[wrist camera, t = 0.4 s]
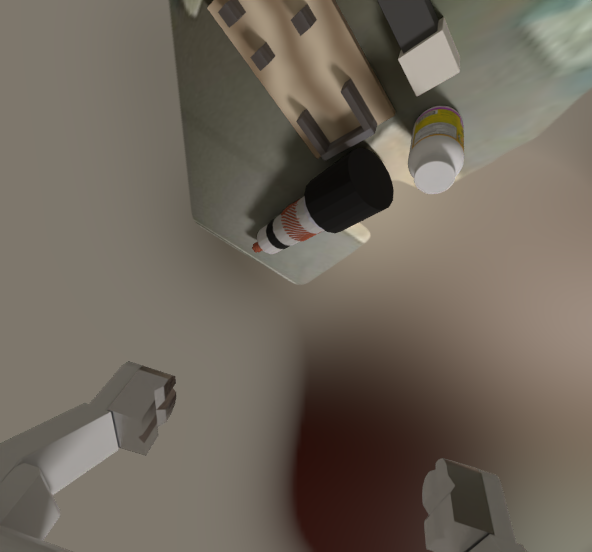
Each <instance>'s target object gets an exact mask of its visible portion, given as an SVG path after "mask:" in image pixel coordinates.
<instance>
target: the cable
mask: <svg viewBox="0 0 592 552" xmlns="http://www.w3.org/2000/svg"><path fill="white" fill-rule="evenodd" d="M392 201H393V185H392V181H391V178H390V175H389V173H388V171H387V169H386V168H385V166H384V164H383V163H382V161H381V160H380V159H379V158H378V157H377V156H376V155H375V154H374V153H372V152H371V151H369V150H367V149H364V148H358V149H354V150H353V151H351V152H350V153H349V154H347V155H346V156H344V157H343V158H342V159H340V160H339V161H338V162H336V163H335V164H333V165H332V166H331V167H329V168H328V169H326V170H325V171H324V172H322V173H321V174H319V175H318V176H317V177H315V178H314V179H313V180H311V181H310V183H309V184H308V185H307V186H306V190H305V194H304V197H302V198H300V199H299V200H297V201H295V202H294V203H292V204H290V205H289V206H287V207H286V208H285V209H284V211H283V212H282V213H281V214H280V215H278V216H277V217H276V218H275V219H274V220H272V221H270V223H269V224H267V225H266V226H264V227H263V228H261V229H260V230H259V232H258V234H257V241H258V242H256V243H254V244H253V247H252V249H253V250H254V252H260V251H261V250H263V251H264V252H266V253H269V254H274V253H277V252H279V251H281V250H282V249H285V248H287V247H289V246H291V245H294V244H296V243H298V242H300V241H305V240H307V239H309V238H310V237H312V236H314V235H316V234H318V233H320V232H322V231H324V230H325V231H327V232H331V233H337V232H340V231H343V230H345V229H347V228H349V227H351V226H353V225H355V224H357V223H359V222H361V221H363V220H364V219H366V218H368V217H370V216H372V215H374V214H376V213H378V212H380V211H382V210H384V209H386V208H388V207H389V206H390V204H391V203H392Z"/></svg>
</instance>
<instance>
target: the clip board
mask: <svg viewBox="0 0 592 552" xmlns="http://www.w3.org/2000/svg"><path fill="white" fill-rule="evenodd" d="M208 10H209V11H210V13H211V14H212V15H213V17H214V18H215V19H216V21H217V22H218V24H219V25H220V26H221V28H222V29H223V30H224V32H225V33H226V35H227V36H228V37H229V39H230V40H231V41H232V43H233V44H234V46H235V47H236V48H237V50H238V51H239V52H240V54H241V55H242V57H243V58H244V59H245V61H246V62H247V64H248V65H249V66H250V68H251V69H252V70H253V72H254V73H255V75H256V76H257V77H258V79H259V80H260V81H261V83H262V84H263V86H264V87H265V88H266V90H267V91H268V92H269V94H270V95H271V97H272V98H273V99H274V101H275V102H276V103H277V105H278V106H279V108H280V109H281V110H282V112H283V113H284V114H285V116H286V117H287V119H288V120H289V121H290V123H291V124H292V126H293V127H294V128H295V130H296V131H297V132H298V134H299V135H300V137H301V138H302V139H303V141H304V142H305V143H306V145H307V146H308V148H309V149H310V150H311V152H312V153H313V154H314V156H315V157H316V159H318V158H320V157H322V158H323V160H324V161H326V160H328V159H329V158H331V157H333V156H335V155H337V154H339V153H340V152H342V151H344V150H346V149H348V148H350V147H351V146H353V145H355V144H357V143H359V142H361V141H362V140H364V139H366V138H368V137H370V136H372V135H374V134H375V131H376V127H377V125H379V124H381V123H382V122H384V121H386V120H388V119H390V118H391V117H393V116H395V112H396V111H395V110H394V108H393V106H392V104H391V102H390V100H389V99H388V97H387V95H386V93H385V91H384V89H383V88H382V86H381V84H380V82H379V80H378V78H377V76H376V75H375V73H374V71H373V69H372V67H371V65H370V64H369V62H368V60H367V58H366V56H365V54H364V53H363V51H362V49H361V47H360V45H359V43H358V42H357V40H356V38H355V36H354V34H353V32H352V31H351V29H350V27H349V25H348V23H347V21H346V19H345V18H344V16H343V14H342V12H341V10H340V8H339V7H338V5H337V3H336V1H335V0H213V2H212V3H211V4H210V5H209V6H208Z"/></svg>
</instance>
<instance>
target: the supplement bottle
mask: <svg viewBox="0 0 592 552" xmlns="http://www.w3.org/2000/svg"><path fill="white" fill-rule="evenodd" d="M463 163H464V130H463V120H462V118H461V116H460V114H459V113H458V112H457V111H456V110H455V109H453V108H451V107H448V106H435V107H432V108H430V109H428V110H426V111H424V112H423V113H422V114H421V115H420V116H419V117H418V119H417V120H416V122H415V124H414V128H413V133H412V140H411V147H410V153H409V159H408V168H409V171H410V174H411V175H412V177H413V178H414V183H415V185H416V187H417V188H418V189H419V190H421V191H422V192H424V193H428V194H437V193H441V192H443V191H446V190H447V189H448V188H449V187H451V185H452V184H453V182H454V180H455V177H456V176H457V174H458V173H459V172H460V170H461V168H462V166H463Z"/></svg>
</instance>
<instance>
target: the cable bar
mask: <svg viewBox="0 0 592 552" xmlns="http://www.w3.org/2000/svg"><path fill="white" fill-rule="evenodd" d="M378 2H379V5H380V7H381V9H382V11H383V13H384V15H385V17H386V19H387V21H388V23H389V25H390V27H391V29H392V31H393V33H394V35H395V37H396V39H397V42H398V44H399V46H400V48H401V51H400V54H399V58H398V60H399V62H400V64H401V66H402V68H403V70H404V72H405V74H406V76H407V78H408V80H409V82H410V84H411V86H412V88H413V90H414V92H415V94H416V96H419V95H421V94H422V93H424V92H426V91H428V90H429V89H431V88H433V87H435V86H436V85H438V84H440V83H442V82H443V81H445V80H447V79H449V78H450V77H452V76H454V75H456V74H457V73H459V72H460V56H459V53H458V51H457V48H456V46H455V43H454V41H453V38H452V36H451V34H450V31H449V29H448V26H447V24H446V21H445V19H444V17H443V18H441V19H440V20H438V18H437V15H436V13H435V10H434V8H433V6H432V3H431V1H430V0H378Z"/></svg>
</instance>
